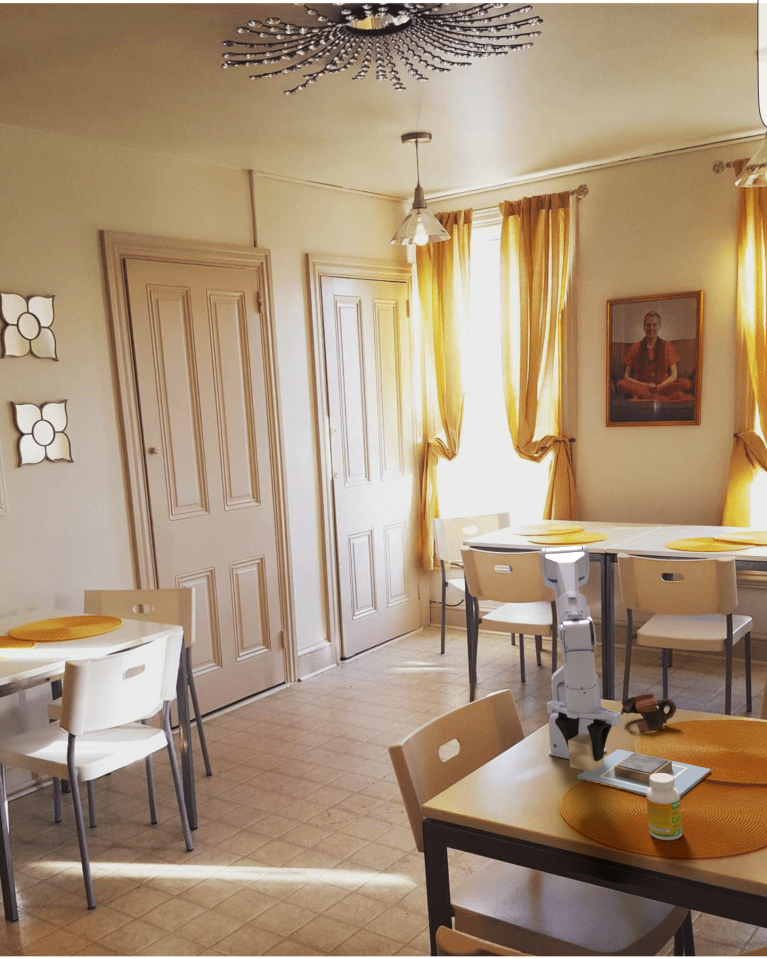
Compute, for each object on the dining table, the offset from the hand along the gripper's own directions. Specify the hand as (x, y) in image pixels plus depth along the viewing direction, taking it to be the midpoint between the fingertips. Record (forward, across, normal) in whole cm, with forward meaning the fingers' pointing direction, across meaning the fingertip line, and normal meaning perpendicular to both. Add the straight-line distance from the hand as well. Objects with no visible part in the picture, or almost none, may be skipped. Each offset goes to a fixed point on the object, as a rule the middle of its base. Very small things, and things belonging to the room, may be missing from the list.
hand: (586, 756), depth 161 cm
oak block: (+2, 0, 0) cm, 2 cm away
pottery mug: (+9, -9, +40) cm, 42 cm away
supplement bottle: (+9, +17, -4) cm, 19 cm away
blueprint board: (+8, +3, +15) cm, 17 cm away
